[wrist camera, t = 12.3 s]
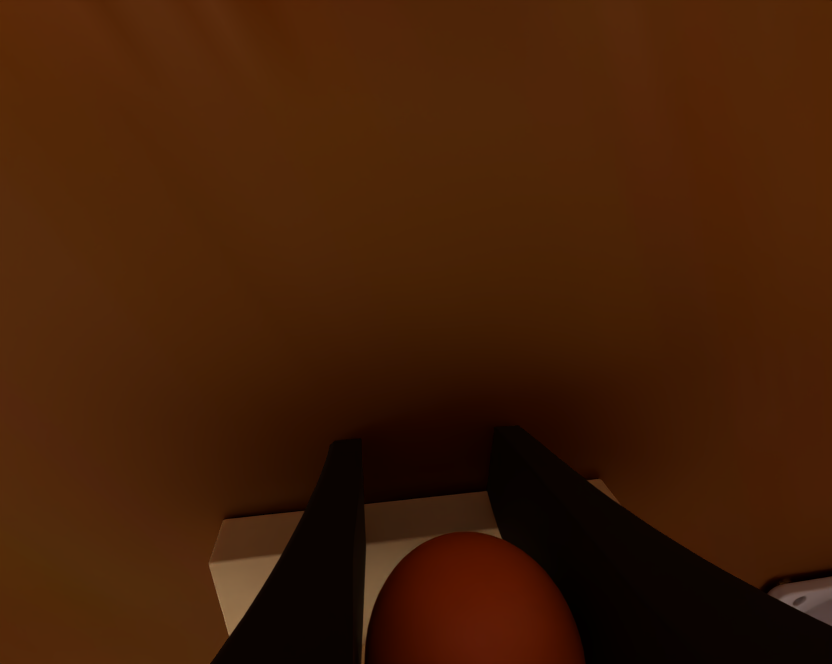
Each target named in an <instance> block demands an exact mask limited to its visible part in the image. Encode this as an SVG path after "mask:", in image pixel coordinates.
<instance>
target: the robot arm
mask: <svg viewBox="0 0 832 664" xmlns="http://www.w3.org/2000/svg"><path fill="white" fill-rule="evenodd" d="M487 493H488V496H489V500H490V503H491V507H492V510H493V514H494V517H495V520H496V523H497V527H498V530H499V533H500V535H501V537H502V539H503V540H505V541H507V542H509V543H511V544H513V545H514V546H516V547H518V548H520V549H521V550H522V551H524V552H525V553H526V554H528V555H529V556H530V557H531V558H533V559H534V560H535V561H536V562H537V563H538V564H539V565H540V566H541V567H542V568H543V569H544V570H545V571H546V572H547V574H548V575H549V576H550V578H551V579H552V580H553V582H554V583H555V584H556V586H557V587H558V588H559V590H560V591H561V593H562V595H563V597H564V599H565V600H566V602H567V604H568V606H569V608H570V610H571V612H572V615H573V617H574V620H575V622H576V625H577V628H578V631H579V634H580V638H581V642H582V645H583V649H584V656H585V663H586V664H832V576H830V577H824V578H818V579H812V580H806V581H799V582H793V583H787V584H781V585H778V586H776V587H774V588H773V589H771V590H770V591H769V592H768V593H767V594H766V593H765V592H763V591H761V590H759V589H757V588H755V587H753V586H752V585H750V584H748V583H746V582H744V581H743V580H741V579H739V578H737V577H735V576H733V575H732V574H730V573H728V572H726V571H724V570H722V569H721V568H719V567H717V566H715V565H714V564H712V563H710V562H708V561H707V560H705V559H703V558H702V557H700V556H698V555H696V554H695V553H693V552H691V551H690V550H688V549H687V548H685V547H683V546H682V545H680V544H679V543H677V542H675V541H674V540H672V539H671V538H669V537H667V536H666V535H664V534H663V533H661V532H659V531H658V530H656V529H655V528H653V527H652V526H650V525H649V524H647V523H646V522H644V521H643V520H641V519H640V518H638V517H637V516H635V515H634V514H632V513H631V512H630V511H628V510H627V509H625V508H624V507H623V506H621V505H620V504H618V503H617V502H615V501H614V500H613V499H611V498H610V497H608V496H607V495H606V494H604V493H603V492H602V491H600V490H599V489H598V488H596V487H595V486H594V485H592V484H591V483H590V482H588V481H587V480H586V479H585V478H583V477H582V476H581V475H579V474H578V473H577V472H576V471H574V470H573V469H572V468H571V467H569V466H568V465H567V464H566V463H564V462H563V461H562V460H561V459H559V458H558V457H557V456H556V455H554V454H553V453H552V452H551V451H550V450H548V449H547V448H546V447H545V446H543V445H542V444H541V443H540V442H539V441H537V440H536V439H535V438H534V437H532V436H531V435H530V434H529V433H527V432H526V431H525V430H524V429H522V428H521V427H520V426H518V425H517V426H505V427H494V435H493V444H492V452H491V460H490V468H489V477H488V485H487ZM365 565H366V532H365V511H364V489H363V467H362V446H361V439H351V440H339V441H334V442H333V443H332V444H331V445H330V447H329V451H328V455H327V458H326V461H325V464H324V467H323V470H322V472H321V475H320V477H319V480H318V482H317V485H316V487H315V489H314V491H313V494H312V496H311V498H310V500H309V502H308V504H307V506H306V509H305V511H304V513H303V515H302V517H301V519H300V521H299V523H298V525H297V527H296V529H295V530H294V532H293V534H292V536H291V538H290V540H289V542H288V543H287V545H286V547H285V549H284V551H283V553H282V554H281V556H280V558H279V560H278V562H277V563H276V565H275V567H274V568H273V570H272V572H271V573H270V575H269V577H268V578H267V580H266V582H265V583H264V585H263V587H262V588H261V590H260V591H259V593H258V594H257V596H256V598H255V599H254V601H253V602H252V604H251V605H250V607H249V608H248V610H247V612H246V613H245V615H244V616H243V618H242V619H241V620H240V622H239V623H238V625H237V626H236V628H235V629H234V631H233V632H232V633H231V635H230V636H229V638H228V639H227V641H226V642H225V644H224V645H223V647H222V648H221V649H220V651H219V652H218V654H217V655H216V657H215V658H214V659H213V661H212V662H211V663H210V664H361V662H362V636H363V613H364V589H365Z"/></svg>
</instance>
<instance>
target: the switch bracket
mask: <svg viewBox="0 0 832 664" xmlns="http://www.w3.org/2000/svg"><path fill="white" fill-rule="evenodd" d="M587 481H588V482H590V483H591V484H592V485H594V486H595V487H596V488H598V489H599V490H600V491H602V492H603V493H604V494H606V495H607V496H608V497H610V498H611V499H613V500H614V501H615V502H617V503H618V504H620V503H619V502H618V501H617V499H616V498H615V497H614V495H613V494H612V493H611V492H610V490H609V489H608V488H607V486H606V485H605V484H604V482H603V481H602V480H601V479H594V480H587ZM364 511H365V532H366V565H365V589H364V613H363V636H362V662H361V664H364V661H365V642H366V635H367V628H368V624H369V620H370V617H371V613H372V609H373V606H374V604H375V601H376V598H377V596H378V594H379V592H380V590H381V588H382V586H383V584H384V582H385V581H386V579H387V577H388V576H389V575H390V573H391V572H392V570H393V569H394V568H395V566H396V565H397V564H398V563H399V562H400V561H401V560H402V559H403V558H404V557H405V556H406V555H407V554H408V553H409V552H411V551H412V550H413V549H414V548H416V547H417V546H419V545H420V544H422V543H424V542H426V541H428V540H430V539H432V538H434V537H437V536H440V535H443V534H447V533H453V532H464V531H468V532H478V533H484V534H488V535H492V536H495V537H498V538H500V539H502V537H501V535H500V533H499V530H498V527H497V523H496V520H495V517H494V514H493V510H492V507H491V503H490V500H489V496H488V493H487V491H482V492H473V493H464V494H455V495H445V496H436V497H427V498H417V499H408V500H399V501H390V502H380V503H371V504H364ZM303 513H304V511H297V512H288V513H278V514H269V515H260V516H251V517H241V518H232V519H225V520H223V522H222V525H221V528H220V531H219V534H218V537H217V540H216V543H215V546H214V549H213V552H212V555H211V558H210V561H209V567H210V571H211V574H212V578H213V581H214V585H215V588H216V592H217V595H218V599H219V602H220V606H221V609H222V613H223V616H224V620H225V623H226V627H227V630H228V634H229V636H230V635H231V633H232V632H233V631H234V629H235V628H236V626H237V625H238V623H239V622H240V620H241V619H242V618H243V616H244V615H245V613H246V612H247V610H248V608H249V607H250V605H251V604H252V602H253V601H254V599H255V598H256V596H257V594H258V593H259V591H260V590H261V588H262V587H263V585H264V583H265V582H266V580H267V578H268V577H269V575H270V573H271V572H272V570H273V568H274V567H275V565H276V563H277V562H278V560H279V558H280V556H281V554H282V553H283V551H284V549H285V547H286V545H287V543H288V542H289V540H290V538H291V536H292V534H293V532H294V530H295V529H296V527H297V525H298V523H299V521H300V519H301V517H302V515H303Z"/></svg>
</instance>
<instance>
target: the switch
mask: <svg viewBox="0 0 832 664" xmlns="http://www.w3.org/2000/svg"><path fill="white" fill-rule="evenodd" d="M364 664H586V663H585V656H584V649H583V645H582V642H581V638H580V634H579V631H578V628H577V625H576V622H575V620H574V617H573V615H572V612H571V610H570V608H569V606H568V604H567V602H566V600H565V599H564V597H563V595H562V593H561V591H560V590H559V588H558V587H557V586H556V584H555V583H554V582H553V580H552V579H551V578H550V576H549V575H548V574H547V572H546V571H545V570H544V569H543V568H542V567H541V566H540V565H539V564H538V563H537V562H536V561H535V560H534V559H533V558H531V557H530V556H529V555H528V554H526V553H525V552H524V551H522V550H521V549H520V548H518V547H516V546H514V545H513V544H511V543H509V542H507V541H505V540H503V539H500V538H498V537H495V536H492V535H488V534H484V533H478V532H468V531H464V532H453V533H447V534H443V535H440V536H437V537H434V538H432V539H430V540H428V541H426V542H424V543H422V544H420V545H419V546H417V547H416V548H414V549H413V550H412V551H411V552H409V553H408V554H407V555H406V556H405V557H404V558H403V559H402V560H401V561H400V562H399V563H398V564H397V565H396V566H395V568H394V569H393V570H392V572H391V573H390V575H389V576H388V577H387V579H386V581H385V582H384V584H383V586H382V588H381V590H380V592H379V594H378V596H377V598H376V601H375V604H374V606H373V609H372V613H371V617H370V620H369V624H368V628H367V635H366V642H365V661H364Z"/></svg>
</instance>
